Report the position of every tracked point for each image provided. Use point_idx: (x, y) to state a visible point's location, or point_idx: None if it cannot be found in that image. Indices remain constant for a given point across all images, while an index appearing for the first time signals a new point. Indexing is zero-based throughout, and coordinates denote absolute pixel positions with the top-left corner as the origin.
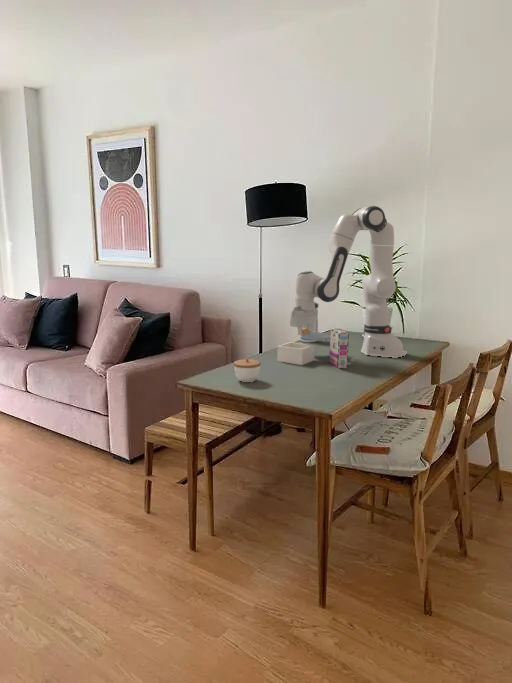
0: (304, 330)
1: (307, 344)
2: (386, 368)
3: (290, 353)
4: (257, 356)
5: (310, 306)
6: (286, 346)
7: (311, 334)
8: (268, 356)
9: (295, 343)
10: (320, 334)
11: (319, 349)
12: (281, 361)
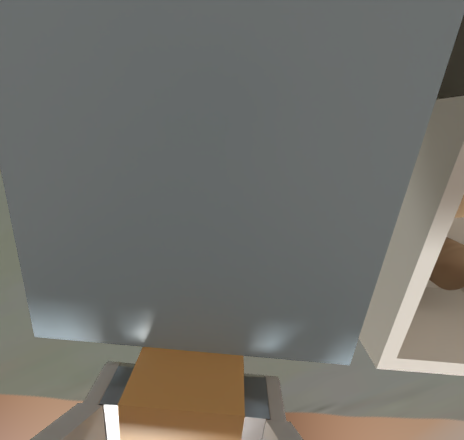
0: (243, 409)
1: (454, 188)
2: None
3: None
4: (348, 413)
5: None
6: (448, 344)
7: (242, 271)
8: (328, 379)
9: (410, 314)
10: (153, 149)
11: (3, 235)
12: None
